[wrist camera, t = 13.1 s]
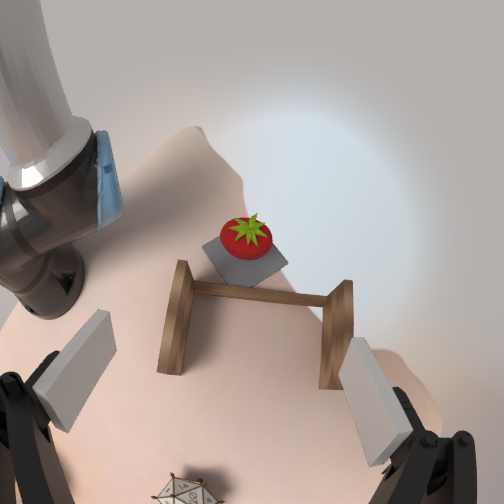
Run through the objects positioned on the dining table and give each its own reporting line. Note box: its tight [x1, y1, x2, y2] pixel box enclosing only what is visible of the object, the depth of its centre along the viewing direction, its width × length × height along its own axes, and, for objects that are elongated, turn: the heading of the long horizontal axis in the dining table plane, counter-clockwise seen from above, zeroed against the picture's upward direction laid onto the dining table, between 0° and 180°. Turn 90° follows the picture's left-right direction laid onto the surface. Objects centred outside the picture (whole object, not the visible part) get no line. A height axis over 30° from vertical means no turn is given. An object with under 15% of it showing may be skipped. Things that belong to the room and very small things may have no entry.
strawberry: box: [220, 214, 273, 260], centre depth 39 cm, size 6×8×10 cm
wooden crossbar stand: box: [157, 260, 354, 390], centre depth 34 cm, size 14×22×9 cm, turn 84°
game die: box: [151, 473, 224, 504], centre depth 23 cm, size 9×8×10 cm
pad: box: [202, 236, 288, 288], centre depth 44 cm, size 10×10×1 cm
